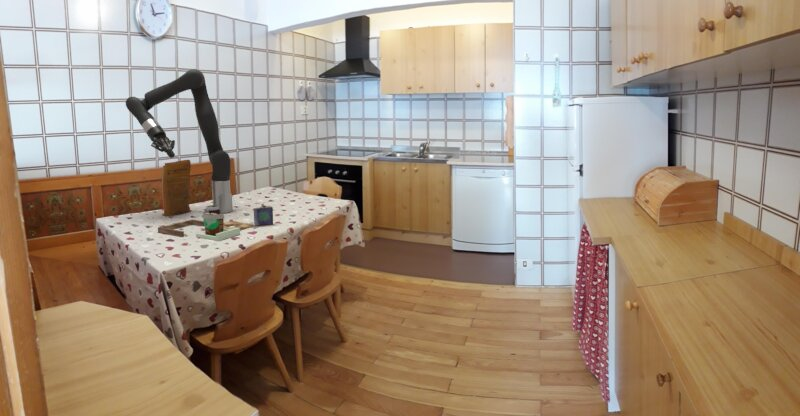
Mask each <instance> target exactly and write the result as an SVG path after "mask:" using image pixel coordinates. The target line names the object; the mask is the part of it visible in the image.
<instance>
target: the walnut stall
mask: <svg viewBox="0 0 800 416" xmlns="http://www.w3.org/2000/svg"><path fill="white" fill-rule="evenodd" d="M188 226H199V227H204V228H205V226H204V220H197V219H188V220H185V221H184V220H183V221H179V222H175V223H173V224H172V223H171V224H168V225H167V224H166V225H163V226H159V227H157V233H160V234H164V235H170V236H174V237H175V236H176V237H182V238H183V237H185V231H184V230H178V229H180V228H184V227H188Z"/></svg>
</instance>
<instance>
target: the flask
mask: <svg viewBox="0 0 800 416" xmlns="http://www.w3.org/2000/svg"><path fill="white" fill-rule="evenodd" d="M264 203H265V202H264ZM264 203H261V204H260V205H261V206H258V207H254V208H253V224H254V226H253V227H263V226H272V225H274V213H273V209H274V208H273V206H271V205H265V204H264Z"/></svg>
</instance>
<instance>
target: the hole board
mask: <svg viewBox="0 0 800 416" xmlns="http://www.w3.org/2000/svg"><path fill="white" fill-rule="evenodd" d="M252 227H255V226H254V223H247V222H243V221H242V222H241V221H235V220H230V221H227V222H223V228H225V229H230V230H231V229H235V228H240V231H243V230H246V229H249V228H252Z"/></svg>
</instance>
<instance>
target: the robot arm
mask: <svg viewBox="0 0 800 416" xmlns="http://www.w3.org/2000/svg"><path fill="white" fill-rule="evenodd" d="M189 90H190V91H191V94H192V97H193V101H194V111H195V116H196V120H197V123H198V125H199V128H200V132H201V134H202V137H203V139H204V142H205V145H206V151H207V155H208V161H209V163H210V164H211V165H212V174H211V194H212V205H216V202H217V199H218V196H219V195H220V194H221V193H222V192H223V193H222V194H221V195H220V197H219V199H218V202H217V206H218V207H219V208H220V214H226V213H231V212H233V210H234V209H233V208H234V207H233V194H232V193H231V179H230V178H231V157H230V154H229V153H228V152H226V151H224V149H223V146H222V143H221V140H220V136H219V135H220V131H219V123H218V120H217V116H216V113H215V110H214V107H213V105H212V102H211V100H210V97H209V94H208V89H207V84H206V78H205V75H204V73H203V72H202V71H200V70H199V69H196V68H193V69H189V70H186V71H185V73H184V74H182V75H181V76H179V77H178V78H175V80H173V81H171V82H168V83H166V84H164V85H160V86H157V87H156V88H154V89H152V90H149V91H148V92H146V93H144V98H143V99H142V100H141V99H140V98H138V97H136V96H129V97H128V98H127V99H126V100H125V107H126V108H127V110H128V111H129V112H130V113H131V115H132V116H133V117H134V118H135V119H136V120H137V121H138V123H139V124H140V126H141V128H142V129H143V131H144V133H145V134H146V136H147V137H148V138H149V139H150V141H151V142H152V143H151V145H150V146H151V147H152V148H154V149H156V150H157V151H160V152H161V153H163V152H164V153H166V155H167V156H168V157H169V158H170V159H173V158H175V156H176V154H175V152H174V151H173V149H175V145H176V143H175V142H176V140H174V139H173V140H171V139H170V138H169V137H167V133H166V132H165V130H164V128H163V127H162V126H161V124H160V123H159V122H158V121H157V120H156V119H155V118H154V115H153V114H152V113H150V112H149V111H150V110H151V109H152V108H154V106H157V105H159V104H161V103H163V102H165V101H167V100H169V99H171V98H172V97H175V96H176V95H179V94H180V93H183V92H186V91H189Z"/></svg>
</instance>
